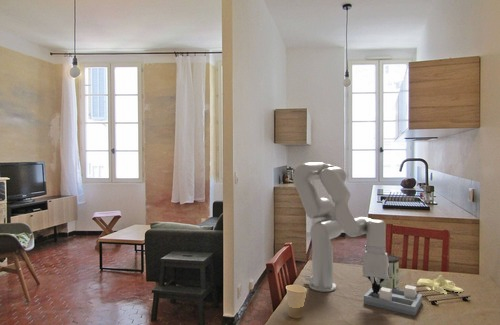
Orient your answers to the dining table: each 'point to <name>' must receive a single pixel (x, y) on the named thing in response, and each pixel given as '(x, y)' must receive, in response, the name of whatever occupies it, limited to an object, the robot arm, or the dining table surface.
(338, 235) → the robot arm
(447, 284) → the cloth
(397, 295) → the switch board
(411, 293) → the tab
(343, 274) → the dining table surface
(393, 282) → the coffee can
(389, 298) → the tab
